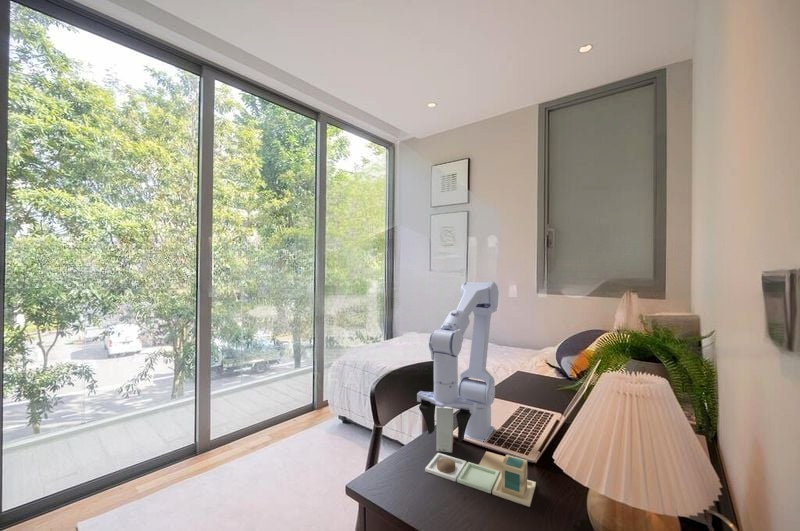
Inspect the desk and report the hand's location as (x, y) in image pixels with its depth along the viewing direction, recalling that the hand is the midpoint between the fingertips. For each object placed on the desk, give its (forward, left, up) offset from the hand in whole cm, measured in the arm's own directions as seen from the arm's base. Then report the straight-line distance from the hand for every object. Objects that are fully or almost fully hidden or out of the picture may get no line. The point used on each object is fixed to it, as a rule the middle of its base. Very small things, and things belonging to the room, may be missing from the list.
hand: (445, 435), depth 83 cm
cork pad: (-8, +10, -8) cm, 15 cm away
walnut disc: (0, 0, -8) cm, 8 cm away
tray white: (0, 0, -8) cm, 8 cm away
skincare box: (-9, -4, -9) cm, 13 cm away
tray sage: (0, +8, -8) cm, 12 cm away
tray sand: (0, +16, -8) cm, 18 cm away
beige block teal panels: (0, +16, -8) cm, 18 cm away
